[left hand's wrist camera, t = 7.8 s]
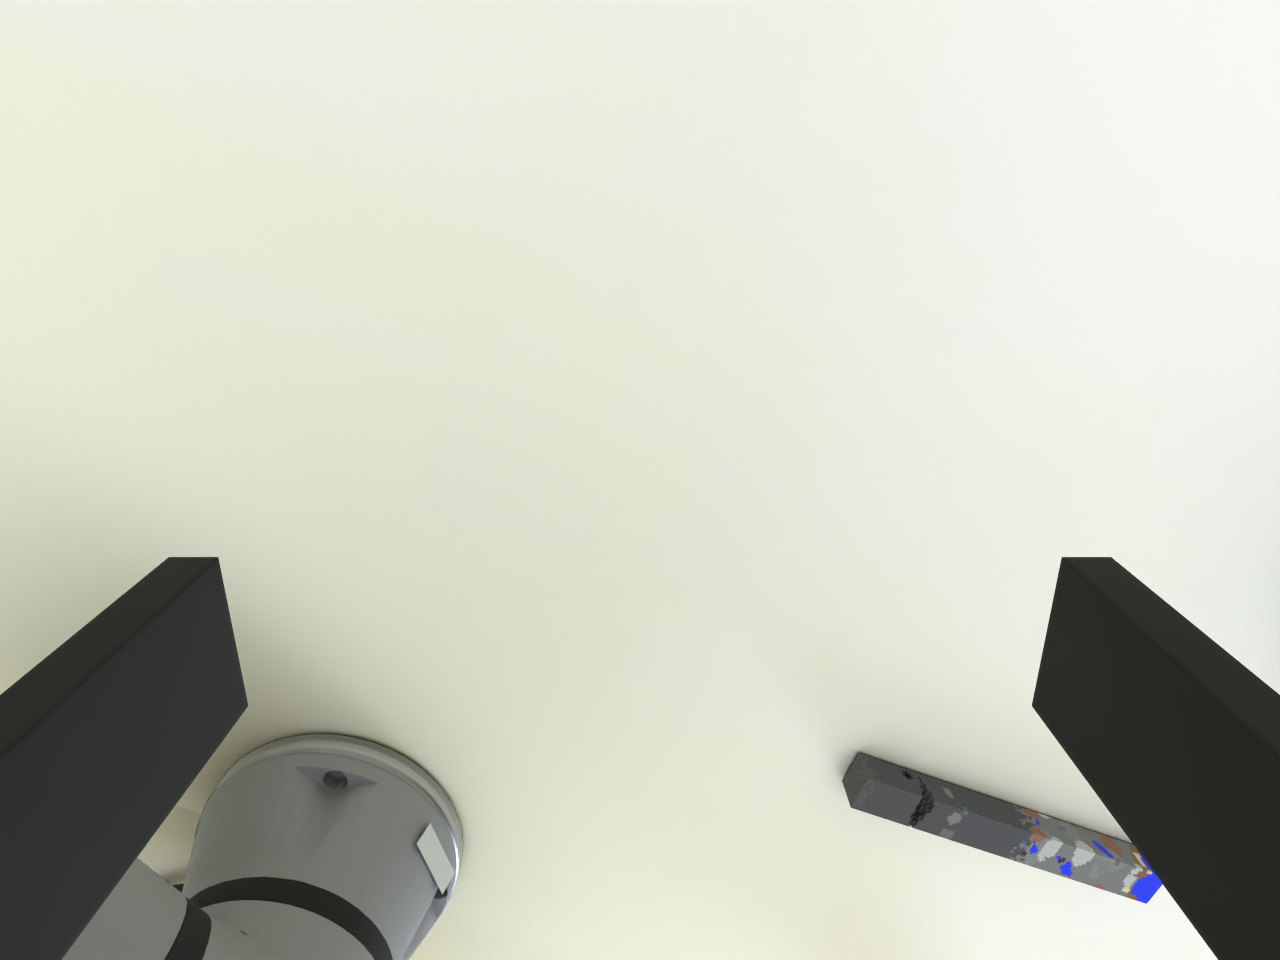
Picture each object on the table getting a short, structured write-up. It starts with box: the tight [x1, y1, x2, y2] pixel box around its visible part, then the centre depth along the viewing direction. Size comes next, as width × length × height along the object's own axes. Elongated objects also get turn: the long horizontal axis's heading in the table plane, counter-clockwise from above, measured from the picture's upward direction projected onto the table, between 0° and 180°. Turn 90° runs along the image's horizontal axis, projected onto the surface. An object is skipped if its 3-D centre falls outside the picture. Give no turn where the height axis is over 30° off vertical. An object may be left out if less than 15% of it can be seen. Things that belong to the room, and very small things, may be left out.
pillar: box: [842, 753, 1162, 903], centre depth 48 cm, size 2×2×20 cm
